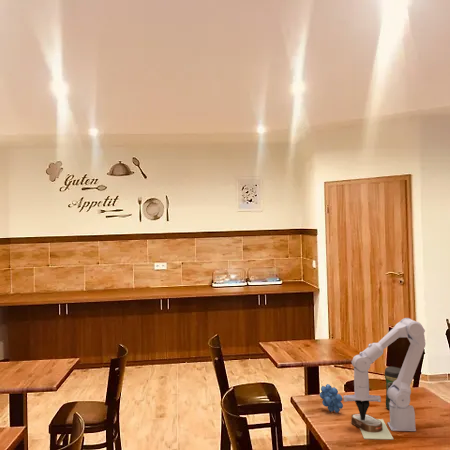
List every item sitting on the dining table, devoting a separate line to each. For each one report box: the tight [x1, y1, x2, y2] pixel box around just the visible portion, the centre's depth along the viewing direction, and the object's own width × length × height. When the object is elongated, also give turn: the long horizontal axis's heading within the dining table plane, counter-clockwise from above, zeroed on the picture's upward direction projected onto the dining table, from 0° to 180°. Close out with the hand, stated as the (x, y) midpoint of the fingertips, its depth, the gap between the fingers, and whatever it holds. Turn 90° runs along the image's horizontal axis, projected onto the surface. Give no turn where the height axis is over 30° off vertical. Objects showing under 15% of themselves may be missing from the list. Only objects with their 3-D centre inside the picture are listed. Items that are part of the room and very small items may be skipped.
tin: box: [350, 413, 383, 432], centre depth 201 cm, size 15×3×8 cm
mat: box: [359, 418, 395, 441], centre depth 198 cm, size 11×20×1 cm, turn 174°
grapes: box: [319, 383, 344, 414], centre depth 218 cm, size 12×7×12 cm, turn 46°
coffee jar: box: [384, 366, 402, 411], centre depth 220 cm, size 10×8×19 cm
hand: (362, 419), depth 199 cm, fingers closed
